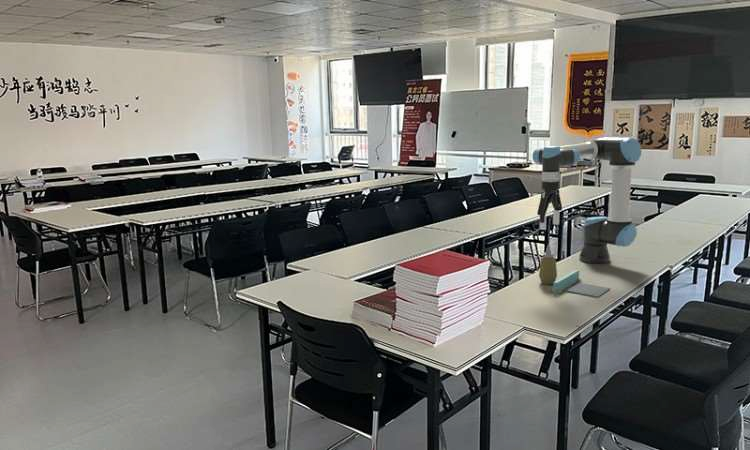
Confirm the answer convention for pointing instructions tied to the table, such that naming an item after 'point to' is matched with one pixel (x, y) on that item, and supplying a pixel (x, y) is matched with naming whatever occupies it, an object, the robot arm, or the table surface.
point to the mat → (588, 290)
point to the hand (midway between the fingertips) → (549, 226)
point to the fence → (565, 282)
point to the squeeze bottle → (548, 268)
